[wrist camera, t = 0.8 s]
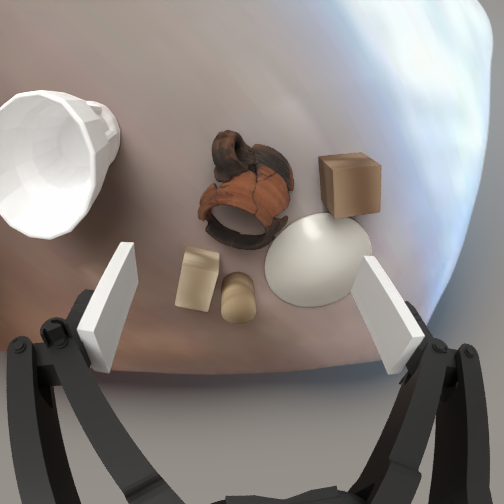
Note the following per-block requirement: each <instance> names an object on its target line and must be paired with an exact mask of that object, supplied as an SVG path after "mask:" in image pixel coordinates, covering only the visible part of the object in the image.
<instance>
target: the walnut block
mask: <svg viewBox="0 0 504 504" xmlns="http://www.w3.org/2000/svg"><path fill="white" fill-rule="evenodd" d="M319 171H320V186H321V200H322V201H323V203H324V204H325V206H326V207H327V208H328V210H329V211H330V213H331V214H332V216H333V217H334V219H337V218H343V217H350V216H357V215H364V214H371V213H378V212H380V202H381V165H380V164H379V163H377V162H376V161H374V160H373V159H371V158H369V157H368V156H366V155H365V154H363V153H362V152H361V153H349V154H339V155H329V156H319Z"/></svg>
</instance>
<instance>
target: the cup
mask: <svg viewBox="0 0 504 504" xmlns="http://www.w3.org/2000/svg"><path fill="white" fill-rule="evenodd" d="M120 132H121V131H120V128H119V125H118V122H117V120H116V117H115V116H114V115H113V113H112V112H111V111H110V110H109V109H108V108H107V107H106V106H105V105H103V104H100V103H98V102H95V101H85V100H82V99H80V98H77V97H75V96H72V95H70V94H67V93H64V92H54V91H44V90H38V91H32V92H25V93H19V94H17V95H15V96H14V97H13V98H11V99H10V100H9V101H8V102H6V103H5V104H4V105H3V106H1V107H0V215H1V216H2V217H3V218H4V220H5V221H6V222H7V223H8V224H9V225H10V226H11V227H13V228H14V229H16V230H18V231H20V232H21V233H23V234H25V235H27V236H29V237H34V238H42V239H50V240H51V239H54V238H56V237H59V236H61V235H64V234H66V233H69V232H71V231H72V230H73V229H74V228H75V227H76V226H77V225H78V223H79V222H80V221H81V220H82V219H83V218H84V217H85V216H86V215H87V213H88V212H89V210H90V208H91V206H92V204H93V203H94V201H95V199H96V197H97V196H98V194H99V192H100V191H101V188H102V185H103V182H104V179H105V176H106V173H107V171H108V167H109V165H110V164H111V163H112V162H113V161H114V160H115V157H116V155H117V153H118V150H119V147H120Z"/></svg>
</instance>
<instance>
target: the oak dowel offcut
mask: <svg viewBox="0 0 504 504" xmlns="http://www.w3.org/2000/svg"><path fill="white" fill-rule="evenodd" d="M221 314H222V316H223V318H224V319H225V320H226V321H228V322H230V323H233V324H244V323H247V322H249V321H251V320H252V319H253V318H254V317H255V315H256V304H255V295H254V287H253V281H252V279H251V278H250V276H248V275H247V274H245V273H241V272H234V273H231V274H229V275H227V276H226V277H225V278H224V279H223V281H222V294H221Z"/></svg>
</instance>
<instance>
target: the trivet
mask: <svg viewBox="0 0 504 504" xmlns="http://www.w3.org/2000/svg"><path fill="white" fill-rule="evenodd" d="M363 256H372V247H371V242H370V239H369V237H368V235H367V233H366V232H365V230H364V229H363V228H362V226H361V225H359V224H358V223H357V222H356V221H355V220H353V219H351V218H349V217H343V218H337V219H334V217H333V216H332V214H331V213H326V212H325V213H316V214H312V215H308V216H305V217H302V218H300V219H298V220H296V221H294V222H293V223H291V224H290V225H288V226H287V227H286V228H284V229H283V230H282V231H281V232H280V233H279V234H278V235H277V236H276V238H275V239H274V240H273V242H272V244H271V245H270V247H269V249H268V252H267V255H266V259H265V275H266V279H267V282H268V284H269V286H270V288H271V290H272V291H273V292H274V293H275V294H276V295H277V296H278V297H279V298H281V299H282V300H284V301H286V302H288V303H290V304H293V305H296V306H302V307H317V306H323V305H327V304H330V303H333V302H335V301H337V300H340V299H341V298H343V297H345V296H346V295H348V294H349V293H350V292H351V289H352V286H353V284H354V281H355V278H356V275H357V272H358V270H359V267H360V264H361V261H362V258H363Z"/></svg>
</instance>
